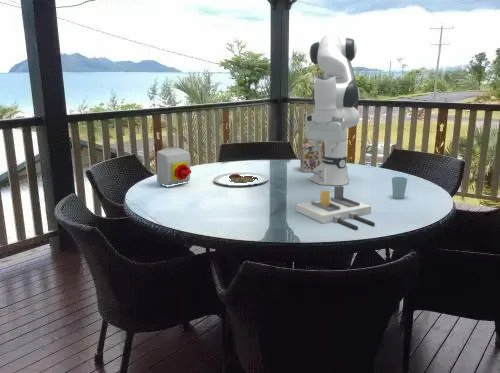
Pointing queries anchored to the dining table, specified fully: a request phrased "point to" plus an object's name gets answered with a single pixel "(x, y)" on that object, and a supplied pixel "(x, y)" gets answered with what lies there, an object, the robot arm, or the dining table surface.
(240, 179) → the plated food
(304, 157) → the decorative jar
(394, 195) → the cup
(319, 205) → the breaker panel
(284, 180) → the dining table surface
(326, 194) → the amber toggle
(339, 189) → the charcoal toggle
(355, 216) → the power cords
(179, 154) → the electrical switch box
